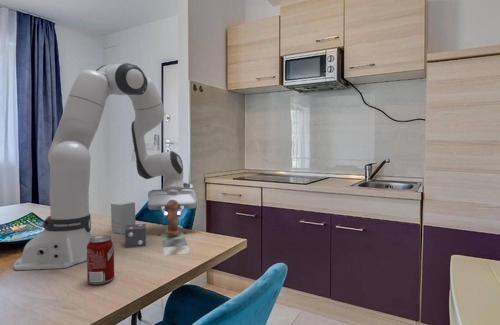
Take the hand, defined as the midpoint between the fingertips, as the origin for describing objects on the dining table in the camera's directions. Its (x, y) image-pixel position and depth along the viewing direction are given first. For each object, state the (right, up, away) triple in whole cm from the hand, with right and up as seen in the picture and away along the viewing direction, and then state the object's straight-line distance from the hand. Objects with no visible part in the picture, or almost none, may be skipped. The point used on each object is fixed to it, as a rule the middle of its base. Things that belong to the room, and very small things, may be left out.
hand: (172, 216), depth 126 cm
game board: (+3, -9, -7) cm, 12 cm away
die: (-11, -9, -9) cm, 17 cm away
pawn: (0, -7, +1) cm, 7 cm away
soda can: (-10, -11, -40) cm, 43 cm away
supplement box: (-24, -8, +10) cm, 27 cm away
